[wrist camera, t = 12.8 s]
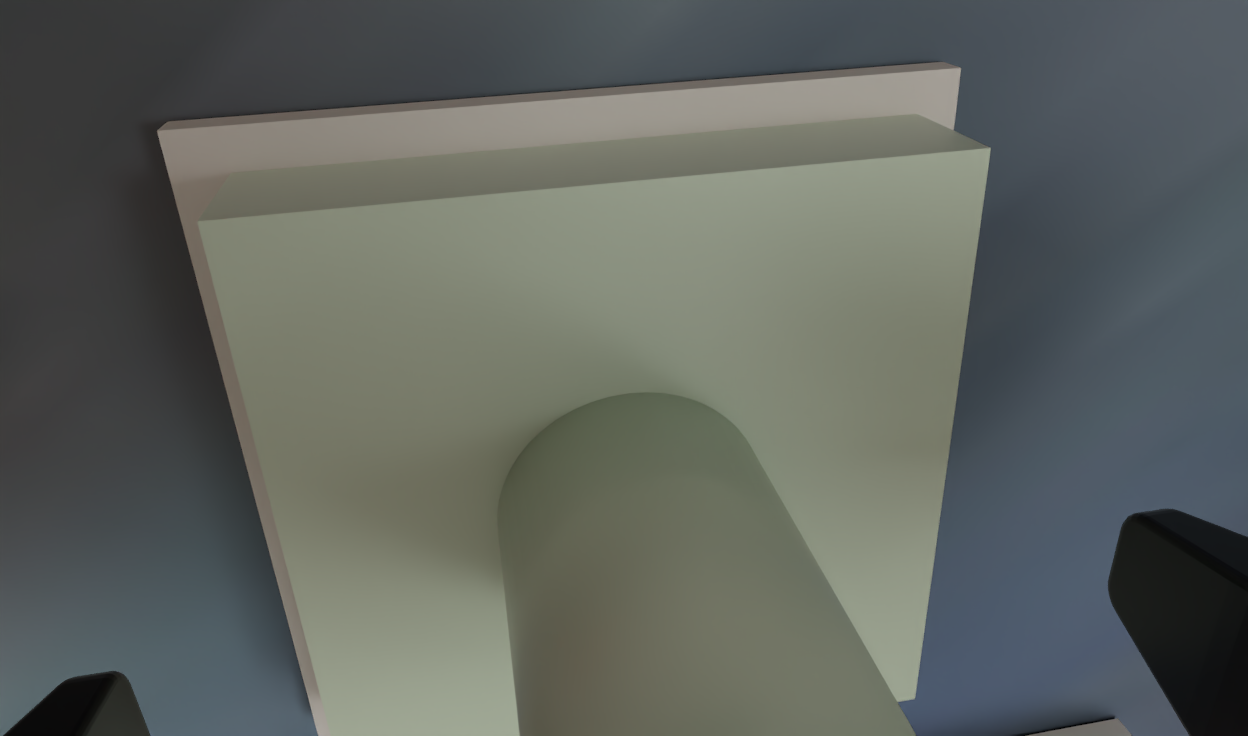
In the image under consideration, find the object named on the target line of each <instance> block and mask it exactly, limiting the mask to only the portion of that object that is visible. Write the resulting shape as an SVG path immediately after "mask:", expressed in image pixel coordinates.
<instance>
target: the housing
mask: <svg viewBox="0 0 1248 736" xmlns="http://www.w3.org/2000/svg"><path fill="white" fill-rule="evenodd" d="M1027 736H1132V735H1131V734H1130V733H1129V731H1128V730H1127V729H1126V728H1125V727H1124V725H1123V724H1122V723H1121V722H1120V721H1119V719H1118V718H1117V719H1112V720H1107V721H1101V722H1096V723H1091V724H1085V725H1080V726H1075V727H1069V728H1064V729H1059V730H1053V731H1048V732H1043V733H1037V734H1032V735H1027Z"/></svg>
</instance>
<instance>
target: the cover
mask: <svg viewBox="0 0 1248 736" xmlns="http://www.w3.org/2000/svg"><path fill="white" fill-rule="evenodd" d="M990 151H991V148H990V147H988V146H986V145H983V144H981V143H979V142H977V141H975V140H973V139H971V138H968V137H966V136H964V135H962V134H960V133H958V132H956V131H953V130H951V129H949V128H947V127H945V126H943V125H940V124H938V123H936V122H934V121H932V120H930V119H928V118H925V117H923V116H921V115H919V114H910V115H898V116H887V117H875V118H863V119H852V120H840V121H829V122H817V123H805V124H794V125H782V126H770V127H759V128H747V129H735V130H724V131H712V132H701V133H689V134H677V135H666V136H654V137H642V138H631V139H619V140H607V141H596V142H584V143H573V144H561V145H549V146H538V147H526V148H514V149H503V150H491V151H479V152H468V153H456V154H445V155H433V156H421V157H410V158H398V159H386V160H375V161H363V162H352V163H340V164H328V165H317V166H305V167H293V168H282V169H270V170H258V171H247V172H235V173H231V174H230V175H229V177H228V178H227V179H226V181H225V182H224V184H223V185H222V187H221V188H220V189H219V191H218V192H217V194H216V195H215V197H214V198H213V199H212V201H211V202H210V204H209V205H208V207H207V208H206V209H205V211H204V212H203V214H202V215H201V217H200V218H199V219H198V221H197V223H198V226H199V230H200V234H201V238H202V242H203V246H204V250H205V253H206V257H207V261H208V265H209V269H210V273H211V276H212V280H213V284H214V288H215V292H216V296H217V300H218V303H219V307H220V311H221V315H222V319H223V323H224V327H225V330H226V334H227V338H228V342H229V346H230V350H231V354H232V357H233V361H234V365H235V369H236V373H237V377H238V381H239V384H240V388H241V392H242V396H243V400H244V404H245V408H246V411H247V415H248V419H249V423H250V427H251V431H252V435H253V438H254V442H255V446H256V450H257V454H258V458H259V461H260V465H261V469H262V473H263V477H264V481H265V485H266V488H267V492H268V496H269V500H270V504H271V508H272V512H273V515H274V519H275V523H276V527H277V531H278V535H279V539H280V542H281V546H282V550H283V554H284V558H285V562H286V566H287V569H288V573H289V577H290V581H291V585H292V589H293V593H294V596H295V600H296V604H297V608H298V612H299V616H300V620H301V623H302V627H303V631H304V635H305V639H306V643H307V646H308V650H309V654H310V658H311V662H312V666H313V670H314V673H315V677H316V681H317V685H318V689H319V693H320V697H321V700H322V704H323V708H324V712H325V716H326V720H327V724H328V727H329V731H330V735H331V736H916V734H915V732H914V730H913V729H912V727H911V725H910V723H909V722H908V720H907V718H906V716H905V715H904V713H903V711H902V709H901V708H900V706H899V704H898V702H900V701H906V700H912V699H915V695H916V687H917V680H918V673H919V666H920V659H921V651H922V644H923V637H924V630H925V622H926V615H927V608H928V601H929V593H930V586H931V579H932V572H933V564H934V557H935V550H936V543H937V535H938V528H939V521H940V514H941V506H942V499H943V492H944V485H945V477H946V470H947V463H948V456H949V448H950V441H951V434H952V427H953V419H954V412H955V405H956V398H957V390H958V383H959V376H960V369H961V361H962V354H963V347H964V340H965V333H966V325H967V318H968V311H969V304H970V296H971V289H972V282H973V275H974V267H975V260H976V253H977V246H978V238H979V231H980V224H981V217H982V209H983V202H984V195H985V188H986V180H987V173H988V166H989V159H990Z"/></svg>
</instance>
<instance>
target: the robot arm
mask: <svg viewBox="0 0 1248 736" xmlns="http://www.w3.org/2000/svg"><path fill="white" fill-rule="evenodd" d="M1108 591H1109V596H1110V599H1111V602H1112V605H1113V607H1114V609H1115V611H1116V613H1117V614H1118V616H1119V618H1120V620H1121V621H1122V623H1123V625H1124V626H1125V628H1126V630H1127V631H1128V633H1129V635H1130V636H1131V638H1132V640H1133V641H1134V643H1135V645H1136V647H1137V648H1138V650H1139V652H1140V653H1141V655H1142V657H1143V658H1144V660H1145V662H1146V663H1147V665H1148V667H1149V668H1150V670H1151V672H1152V674H1153V675H1154V677H1155V679H1156V680H1157V682H1158V684H1159V685H1160V687H1161V689H1162V690H1163V692H1164V694H1165V695H1166V697H1167V699H1168V701H1169V702H1170V704H1171V706H1172V707H1173V709H1174V711H1175V712H1176V714H1177V716H1178V717H1179V719H1180V721H1181V722H1182V724H1183V726H1184V727H1185V729H1186V731H1187V732H1188V734H1189V735H1190V736H1248V537H1246V536H1244V535H1241V534H1238V533H1236V532H1233V531H1231V530H1228V529H1225V528H1223V527H1220V526H1218V525H1215V524H1212V523H1210V522H1207V521H1205V520H1202V519H1199V518H1197V517H1194V516H1192V515H1189V514H1186V513H1184V512H1181V511H1178V510H1175V509H1159V510H1153V511H1146V512H1140V513H1135V514H1132V515H1130V516H1128V518H1127V519H1126V520H1125V521H1124V523H1123V524H1122V527H1121V530H1120V534H1119V538H1118V543H1117V547H1116V551H1115V555H1114V559H1113V563H1112V567H1111V571H1110V575H1109V580H1108ZM3 736H150V734H149V731H148V728H147V726H146V723H145V721H144V718H143V715H142V713H141V710H140V708H139V705H138V702H137V700H136V697H135V695H134V692H133V689H132V687H131V684H130V682H129V680H128V679H127V678H126V676H125V675H124V674H122V673H120V672H116V671H109V672H103V673H96V674H90V675H84V676H77V677H73V678H70V679H67V680H66V681H64V682H62V683H61V684H60V685H59V686H57V687H56V688H55V689H54V690H53V691H52V692H51V693H50V694H48V695H47V696H46V697H45V698H44V699H43V700H42V701H41V702H40V703H39V704H37V705H36V706H35V707H34V708H33V709H32V710H31V711H30V712H29V713H27V714H26V715H25V716H24V717H23V718H22V719H21V720H20V721H19V722H18V723H16V724H15V725H14V726H13V727H12V728H11V729H10V730H9V731H8V732H7V733H5V734H4V735H3Z"/></svg>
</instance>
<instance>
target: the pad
mask: <svg viewBox="0 0 1248 736" xmlns="http://www.w3.org/2000/svg"><path fill="white" fill-rule="evenodd" d="M960 73H961V68H960V67H957V66H954V65H951V64H948V63H945V62H933V63H920V64H907V65H894V66H881V67H868V68H855V69H842V70H829V71H816V72H803V73H791V74H778V75H765V76H752V77H739V78H726V79H713V80H700V81H687V82H674V83H661V84H648V85H635V86H622V87H609V88H596V89H583V90H570V91H557V92H544V93H531V94H518V95H505V96H492V97H479V98H466V99H453V100H440V101H427V102H414V103H402V104H389V105H376V106H363V107H350V108H337V109H324V110H311V111H298V112H285V113H272V114H259V115H246V116H233V117H220V118H207V119H194V120H181V121H168V122H166V123H165V124H164V125H163V126H162V127H161V128H160V129H158V130H157V133H158V137H159V141H160V144H161V148H162V152H163V156H164V159H165V163H166V167H167V171H168V174H169V178H170V182H171V186H172V189H173V193H174V197H175V201H176V204H177V208H178V212H179V216H180V219H181V223H182V227H183V231H184V234H185V238H186V242H187V246H188V249H189V253H190V257H191V261H192V264H193V268H194V272H195V276H196V279H197V283H198V287H199V291H200V294H201V298H202V302H203V306H204V309H205V313H206V317H207V321H208V324H209V328H210V332H211V336H212V339H213V343H214V347H215V351H216V354H217V358H218V362H219V366H220V369H221V373H222V377H223V381H224V384H225V388H226V392H227V396H228V399H229V403H230V407H231V411H232V414H233V418H234V422H235V426H236V429H237V433H238V437H239V441H240V444H241V448H242V452H243V456H244V459H245V463H246V467H247V471H248V474H249V478H250V482H251V486H252V489H253V493H254V497H255V501H256V504H257V508H258V512H259V516H260V519H261V523H262V527H263V531H264V534H265V538H266V542H267V546H268V549H269V553H270V557H271V561H272V564H273V568H274V572H275V576H276V579H277V583H278V587H279V590H280V594H281V598H282V602H283V605H284V609H285V613H286V617H287V620H288V624H289V628H290V632H291V635H292V639H293V643H294V647H295V650H296V654H297V658H298V662H299V665H300V669H301V673H302V677H303V680H304V684H305V688H306V692H307V695H308V699H309V703H310V707H311V710H312V714H313V718H314V722H315V725H316V729H317V733H318V736H331V735H330V731H329V727H328V724H327V720H326V716H325V712H324V708H323V704H322V700H321V697H320V693H319V689H318V685H317V681H316V677H315V673H314V670H313V666H312V662H311V658H310V654H309V650H308V646H307V643H306V639H305V635H304V631H303V627H302V623H301V620H300V616H299V612H298V608H297V604H296V600H295V596H294V593H293V589H292V585H291V581H290V577H289V573H288V569H287V566H286V562H285V558H284V554H283V550H282V546H281V542H280V539H279V535H278V531H277V527H276V523H275V519H274V515H273V512H272V508H271V504H270V500H269V496H268V492H267V488H266V485H265V481H264V477H263V473H262V469H261V465H260V461H259V458H258V454H257V450H256V446H255V442H254V438H253V435H252V431H251V427H250V423H249V419H248V415H247V411H246V408H245V404H244V400H243V396H242V392H241V388H240V384H239V381H238V377H237V373H236V369H235V365H234V361H233V357H232V354H231V350H230V346H229V342H228V338H227V334H226V330H225V327H224V323H223V319H222V315H221V311H220V307H219V303H218V300H217V296H216V292H215V288H214V284H213V280H212V276H211V273H210V269H209V265H208V261H207V257H206V253H205V250H204V246H203V242H202V238H201V234H200V230H199V226H198V223H197V221H198V219H199V218H200V217H201V215H202V214H203V212H204V211H205V209H206V208H207V207H208V205H209V204H210V202H211V201H212V199H213V198H214V197H215V195H216V194H217V192H218V191H219V189H220V188H221V187H222V185H223V184H224V182H225V181H226V179H227V178H228V177H229V175H230V174H231V173H235V172H247V171H258V170H270V169H282V168H293V167H305V166H317V165H328V164H340V163H352V162H363V161H375V160H386V159H398V158H410V157H421V156H433V155H445V154H456V153H468V152H479V151H491V150H503V149H514V148H526V147H538V146H549V145H561V144H573V143H584V142H596V141H607V140H619V139H631V138H642V137H654V136H666V135H677V134H689V133H701V132H712V131H724V130H735V129H747V128H759V127H770V126H782V125H794V124H805V123H817V122H829V121H840V120H852V119H863V118H875V117H887V116H898V115H910V114H919V115H921V116H923V117H925V118H928V119H930V120H932V121H934V122H936V123H938V124H940V125H943V126H945V127H947V128H949V129H951V130H953V131H954V124H955V115H956V107H957V99H958V90H959V82H960Z"/></svg>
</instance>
